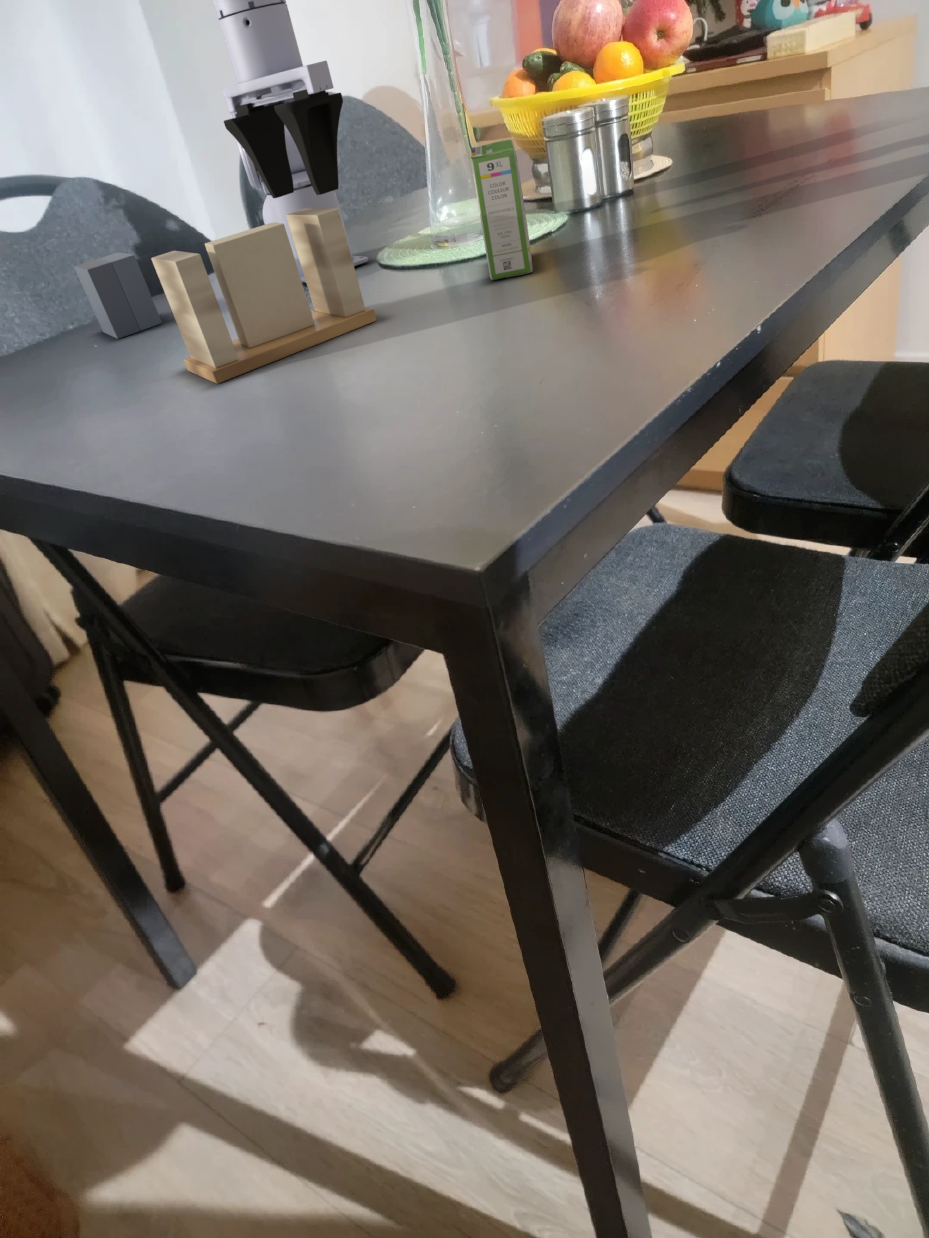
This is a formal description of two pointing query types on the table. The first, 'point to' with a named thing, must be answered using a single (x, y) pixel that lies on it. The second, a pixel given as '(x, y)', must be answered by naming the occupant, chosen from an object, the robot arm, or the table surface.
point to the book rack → (333, 316)
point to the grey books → (118, 294)
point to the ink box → (501, 207)
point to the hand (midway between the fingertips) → (304, 194)
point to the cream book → (260, 284)
